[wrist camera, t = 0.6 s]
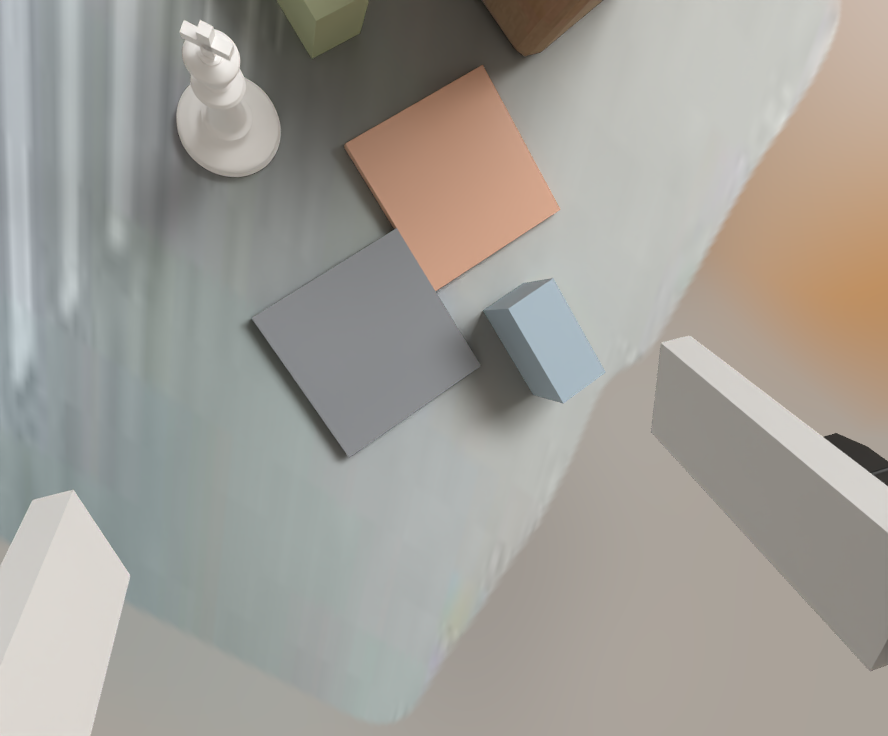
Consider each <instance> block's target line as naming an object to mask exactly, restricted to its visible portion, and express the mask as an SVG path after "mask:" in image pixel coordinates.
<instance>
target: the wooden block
mask: <svg viewBox="0 0 888 736" xmlns="http://www.w3.org/2000/svg"><path fill="white" fill-rule="evenodd" d="M602 1H603V0H482V2H483V3H484V4H485V6H486V7H487V9H488V10H489V12H490V13H491V15H492V16H493V17H494V19H495V20H496V22H497V23H498V25H499V26H500V28H501V29H502V31H503V32H504V33H505V35H506V36H507V38H508V39H509V41H510V42H511V44H512V45H513V46H514V48H515V49H516V50H517V51H518V52H519V53H521V54H522V55H523V56H528V55H532V54H536V53H540V52H542V51H543V50H544V49H545V48H547V47H548V46H549V45H550V44H551V43H553V42H554V41H555V40H556V39H557V38H559V37H560V36H561V35H562V34H563V33H565V32H566V31H567V30H568V29H569V28H570V27H572V26H573V25H574V24H575V23H576V22H578V21H579V20H580V19H581V18H582V17H584V16H585V15H586V14H587V13H588V12H590V11H591V10H592V9H593V8H594V7H596V6H597V5H598V4H599V3H600V2H602Z"/></svg>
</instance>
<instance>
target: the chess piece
mask: <svg viewBox="0 0 888 736" xmlns="http://www.w3.org/2000/svg"><path fill="white" fill-rule="evenodd" d="M180 35H181V37H182V38H183V39H185V41H184V44H183V48H182V57H183V61H184V64H185V66H186V68H187V70H188V71H189V73H190V74H191V75H190V83H191V84H190V85H189V86H188V87H187V88H186V89H185V91H184V92H183V94H182V96H181V98H180V100H179V103H178V106H177V113H176V120H177V130H178V134H179V137H180V140H181V142H182V144H183V146H184V148H185V149H186V151H187V152H188V154H189V155H190V156H191V157H192V158H193V159H194V160H195V161H196V162H197V163H198V164H199V165H201V166H202V167H204V168H205V169H207V170H209V171H211V172H213V173H216V174H218V175H222V176H227V177H243V176H247V175H251V174H254V173H256V172H258V171H260V170H261V169H263V168H264V167H265V166H267V165H268V164H269V163H270V161H271V160H272V159H273V157H274V156H275V154H276V152H277V150H278V147H279V144H280V139H281V126H280V120H279V117H278V114H277V111H276V109H275V107H274V105H273V103H272V102H271V100H270V98H269V97H268V96H267V94H266V93H265V92H264V91H263V90H262V89H261V88H260V87H259V86H257V85H256V84H255V83H253V82H252V81H250V80H248V79H246V78H244V75H243V73H242V72H241V70H240V69H239V68H240V55H239V52H238V49H237V47H236V45H235V44H234V42H233V41H232V40H231V39H230V38H229V37H228V36H227V35H226V34H224V33H223V32H221V31H218V30H216V29H214V28H213V26H211V25H209V24H207V23H205V22H203V21H201V20H200V22H199V24H198V27H197V26H195V25H193V24H191V23H189V22H187V21H185V20H184V21H183V24H182V26H181V29H180Z"/></svg>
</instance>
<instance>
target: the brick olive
mask: <svg viewBox="0 0 888 736" xmlns="http://www.w3.org/2000/svg"><path fill="white" fill-rule="evenodd" d="M276 1H277V2H278V4H279V6H280V7H281V9H282V10H283V12H284V14H285V15H286V17H287V19H288V20H289V22H290V24H291V25H292V27H293V29H294V30H295V32H296V34H297V35H298V37H299V39H300V40H301V42H302V44H303V45H304V47H305V49H306V50H307V52H308V54H309V55H310V57H311V59H313V58H315V57H317V56H319V55H320V54H322V53H324V52H326V51H328V50H330V49H332V48H334V47H335V46H337V45H339V44H341V43H343V42H345V41H347V40H349V39H350V38H352V37H354V36H356V35H358V34H360V32H361V28H362V25H363V21H364V17H365V14H366V10H367V6H368V2H369V0H276Z"/></svg>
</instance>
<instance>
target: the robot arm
mask: <svg viewBox="0 0 888 736" xmlns="http://www.w3.org/2000/svg"><path fill="white" fill-rule="evenodd" d="M651 433H652V434H653V435H654V436H655V437H656V438H657V439H658V440H659V441H660V443H661V444H662V445H663V446H664V447H665V448H666V449H667V450H668V451H669V452H670V453H671V454H672V456H673V457H675V459H676V460H677V461H678V462H679V463H680V464H681V465H682V466H683V468H684V469H685V470H686V471H687V472H688V473H689V474H690V475H691V476H692V477H693V479H695V481H696V482H697V483H698V484H699V485H700V486H701V487H702V488H703V490H704V491H706V493H707V494H708V495H709V496H710V497H711V498H712V499H713V500H714V501H715V503H716V504H717V505H718V506H719V507H720V508H721V509H722V510H723V511H724V512H725V514H726V515H727V516H728V517H729V518H730V519H731V520H732V521H733V522H734V523H735V524H736V526H737V527H738V528H739V529H740V530H741V531H742V532H743V533H744V534H745V535H746V536H747V538H748V539H749V540H750V541H751V542H752V543H753V544H754V545H755V546H756V547H757V548H758V550H759V551H760V552H761V553H762V554H763V555H764V556H765V557H766V558H767V559H768V561H769V562H770V563H771V564H772V565H773V566H774V567H775V568H776V569H777V570H778V572H779V573H780V574H781V575H782V576H783V577H784V578H785V579H786V580H787V581H788V582H789V584H790V585H791V586H792V587H793V588H794V589H795V590H796V591H797V592H798V593H799V594H800V595H801V597H802V598H803V599H804V600H805V601H806V602H807V603H808V604H809V605H810V606H811V608H812V609H813V610H814V611H815V612H816V613H817V614H818V615H819V616H820V617H821V618H822V620H823V621H824V622H825V623H826V624H827V625H828V626H829V627H830V628H831V629H832V631H833V632H834V633H835V634H836V635H837V636H838V637H839V638H840V639H841V640H842V641H843V642H844V644H845V645H846V646H847V647H848V648H849V649H850V650H851V651H852V652H853V653H854V655H855V656H856V657H857V658H858V659H859V660H860V661H861V662H862V663H863V664H864V665H865V666H866V668H867V669H868V670H869V671H873V670H875V669H878V668H881V667H883V666H886V665H888V461H887V460H885V459H884V458H882V457H881V456H879V455H878V454H877V453H875V452H874V451H873V450H871V449H870V448H869V447H867V446H865V445H862V444H860V443H858V442H855V441H853V440H851V439H848V438H846V437H844V436H841V435H839V434H837V433H835V434H832V435H828V436H825V437H822V436H821V435H820V434H818V433H817V432H816V431H815V430H813V429H812V428H811V427H809V426H808V425H807V424H805V423H804V422H803V421H801V420H800V419H799V418H797V417H796V416H795V415H794V414H792V413H791V412H789V411H788V410H787V409H786V408H784V407H783V406H782V405H780V404H779V403H778V402H776V401H775V400H774V399H773V398H771V397H770V396H769V395H767V394H766V393H765V392H763V391H762V390H761V389H759V388H758V387H757V386H755V385H754V384H753V383H752V382H750V381H749V380H748V379H746V378H745V377H744V376H742V375H741V374H740V373H738V372H737V371H736V370H734V369H733V368H732V367H731V366H729V365H728V364H727V363H725V362H724V361H722V360H721V359H720V358H719V357H717V356H716V355H714V354H713V353H712V352H711V351H709V350H708V349H707V348H706V347H704V346H703V345H702V344H700V343H699V342H698V341H696V340H695V339H694V338H692V337H691V336H686V337H682V338H678V339H674V340H670V341H666V342H662V343H661V346H660V355H659V364H658V373H657V383H656V391H655V401H654V410H653V419H652V428H651ZM129 579H130V574H129V573H128V571H127V570H126V568H125V567H124V565H123V564H122V562H121V561H120V559H119V558H118V556H117V555H116V553H115V552H114V550H113V549H112V547H111V546H110V544H109V543H108V541H107V540H106V538H105V537H104V535H103V534H102V532H101V531H100V529H99V528H98V526H97V525H96V523H95V522H94V520H93V519H92V517H91V516H90V514H89V513H88V511H87V510H86V508H85V507H84V505H83V504H82V502H81V501H80V499H79V498H78V496H77V495H76V493H75V492H74V490H70V491H66V492H62V493H58V494H54V495H50V496H46V497H42V498H38V499H34V500H32V502H31V504H30V507H29V509H28V511H27V513H26V515H25V517H24V519H23V521H22V523H21V525H20V527H19V529H18V531H17V533H16V535H15V537H14V539H13V541H12V543H11V545H10V547H9V549H8V551H7V554H6V556H5V558H4V560H3V562H2V564H1V566H0V736H90V735H91V731H92V727H93V723H94V719H95V715H96V711H97V707H98V703H99V699H100V695H101V691H102V687H103V683H104V679H105V675H106V671H107V667H108V663H109V659H110V655H111V651H112V647H113V643H114V639H115V635H116V631H117V627H118V623H119V619H120V615H121V611H122V607H123V603H124V599H125V595H126V591H127V587H128V583H129Z"/></svg>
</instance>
